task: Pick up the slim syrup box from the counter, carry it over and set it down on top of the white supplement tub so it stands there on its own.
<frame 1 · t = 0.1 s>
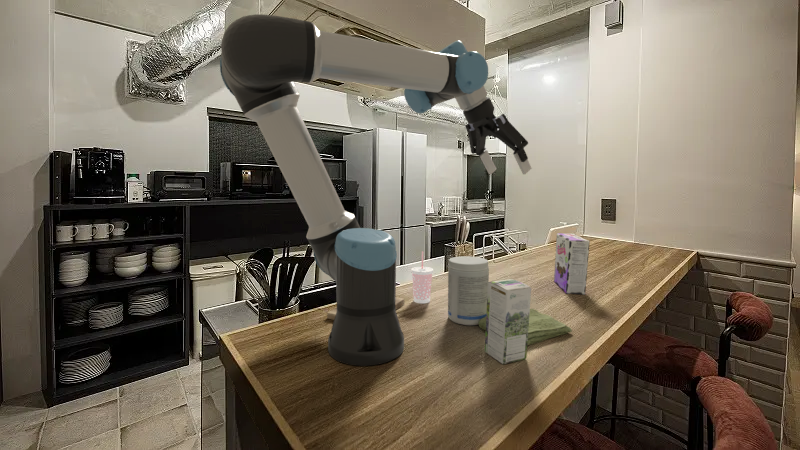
hand: (509, 171, 102), 36 cm above the countertop, tool tilted 35°, fingers open, 13 cm apart
beverage cup: (421, 301, 103), on the countertop
candy box: (568, 288, 116), on the countertop
syrup box: (505, 356, 71), on the countertop
beech cutting board: (367, 310, 94), on the countertop
supplement tub: (467, 319, 89), on the countertop
washcloth: (523, 332, 83), on the countertop
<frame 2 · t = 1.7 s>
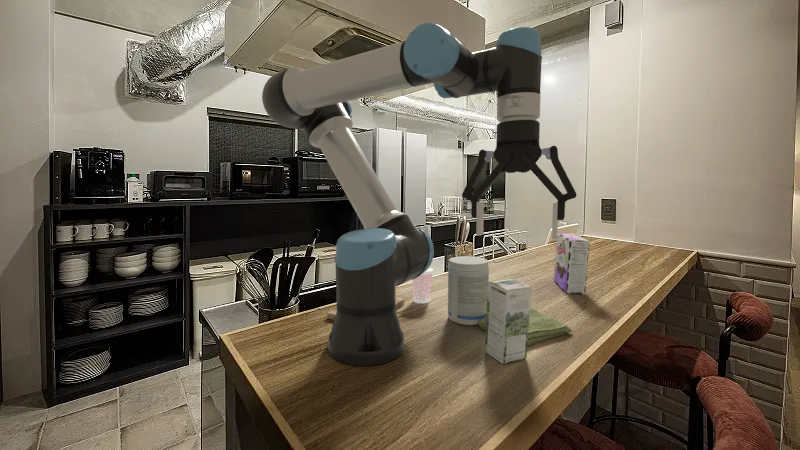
hand: (515, 236, 70), 23 cm above the countertop, tool pointing down, fingers open, 13 cm apart
nothing on the countertop moved.
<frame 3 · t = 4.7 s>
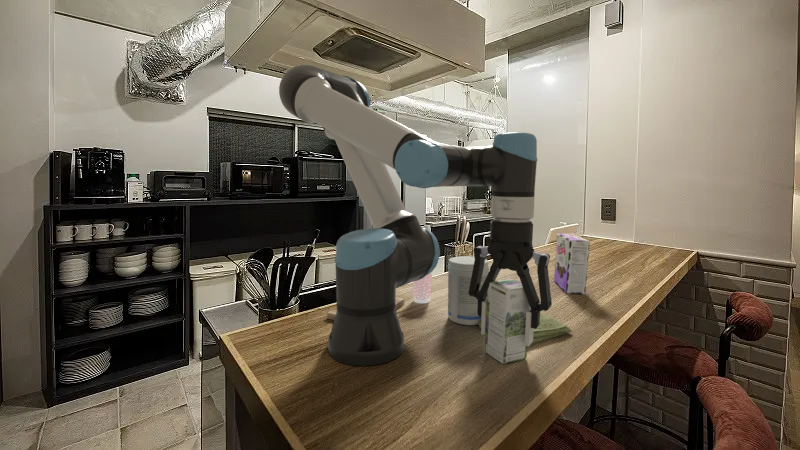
hand: (506, 337, 70), 4 cm above the countertop, tool pointing down, fingers closed on syrup box, 8 cm apart
syrup box: (505, 356, 71), on the countertop, touching gripper
everything else where it was.
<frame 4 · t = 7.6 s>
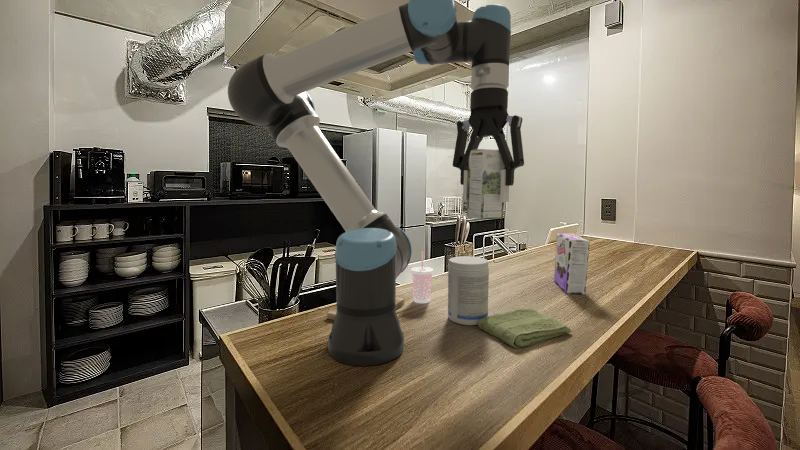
hand: (485, 200, 78), 29 cm above the countertop, tool pointing down, fingers closed on syrup box, 8 cm apart
syrup box: (484, 219, 79), point 25 cm above the countertop, touching gripper
everything else where it was.
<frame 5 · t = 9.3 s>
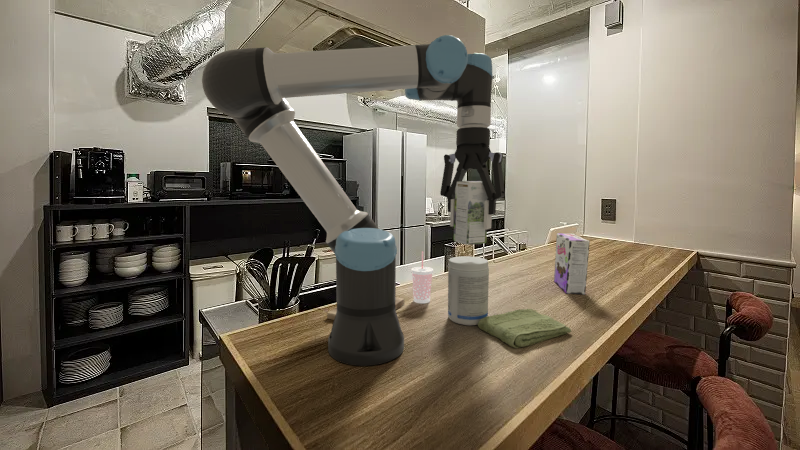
hand: (470, 227, 87), 23 cm above the countertop, tool pointing down, fingers closed on syrup box, 8 cm apart
syrup box: (469, 243, 87), point 19 cm above the countertop, touching gripper
everything else where it was.
when the fingers open (20 cm above the countertop, at t = 10.6 s): syrup box drops 2 cm, resting on supplement tub.
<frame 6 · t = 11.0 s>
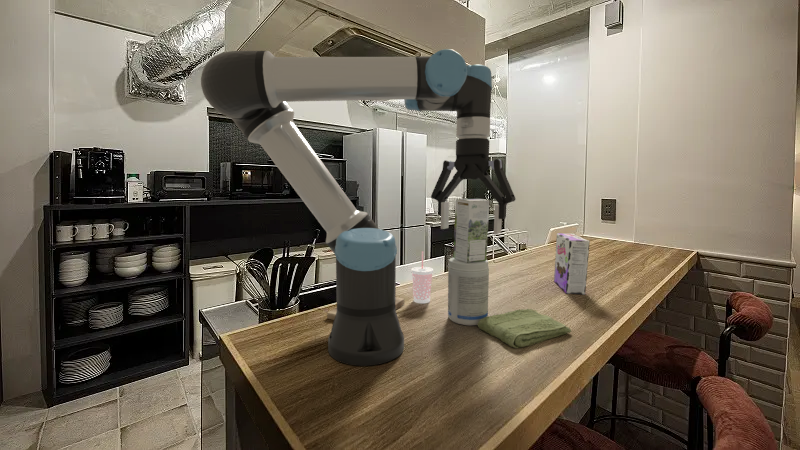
hand: (469, 230, 87), 22 cm above the countertop, tool pointing down, fingers open, 13 cm apart
syrup box: (469, 260, 87), point 14 cm above the countertop, touching supplement tub
supplement tub: (467, 319, 89), on the countertop, touching syrup box
everything else where it was.
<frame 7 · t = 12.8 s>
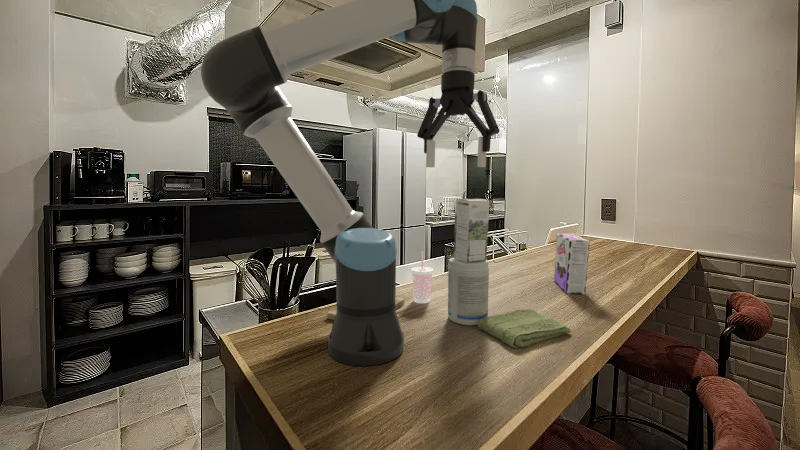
hand: (454, 167, 87), 37 cm above the countertop, tool pointing down, fingers open, 13 cm apart
nothing on the countertop moved.
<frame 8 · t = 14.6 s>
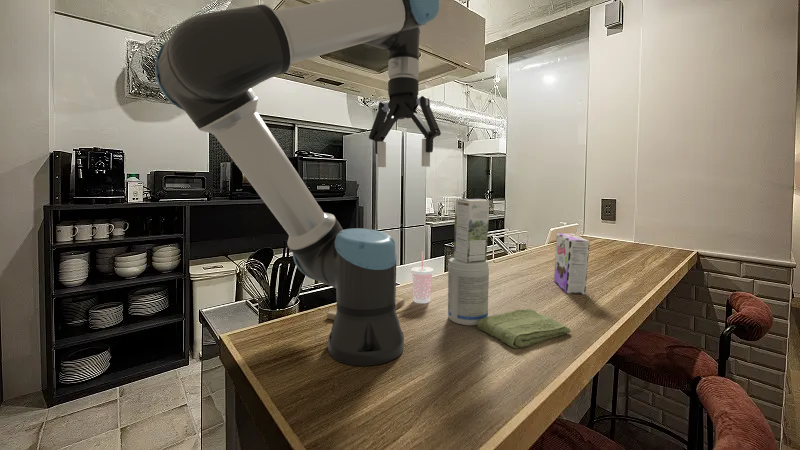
hand: (402, 166, 93), 37 cm above the countertop, tool pointing down, fingers open, 13 cm apart
nothing on the countertop moved.
at the end: syrup box inside the target area on the supplement tub (0.3 cm from its centre), point 14.7 cm above the supplement tub's base; syrup box tilted 0°; the gripper is holding nothing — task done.
